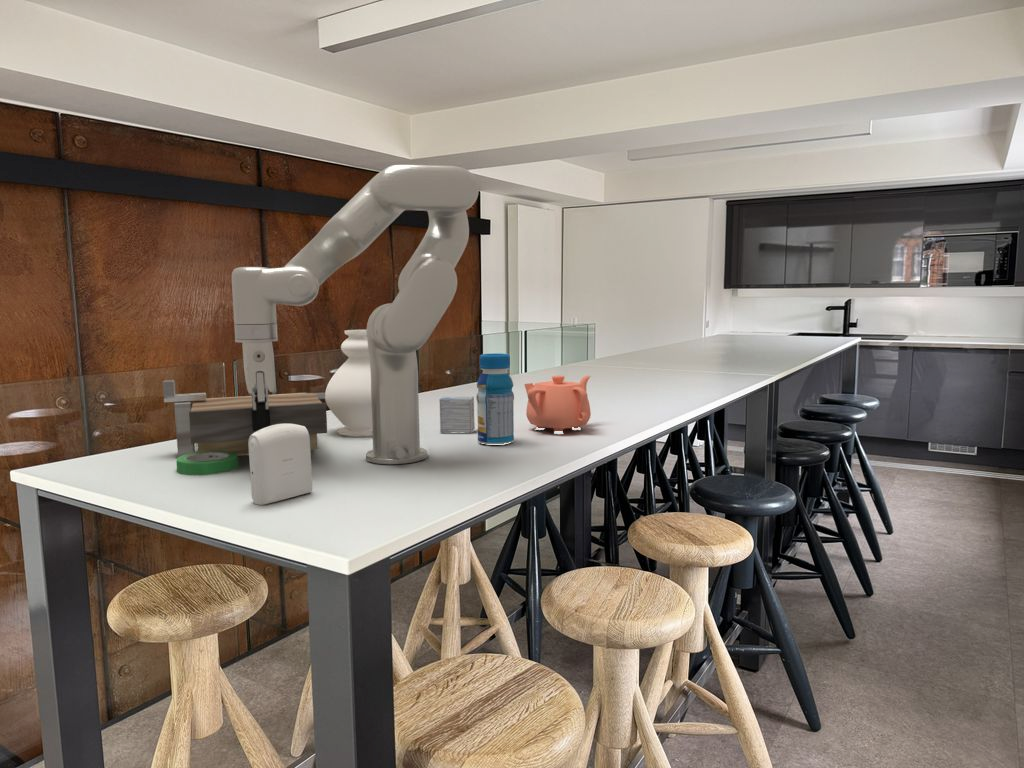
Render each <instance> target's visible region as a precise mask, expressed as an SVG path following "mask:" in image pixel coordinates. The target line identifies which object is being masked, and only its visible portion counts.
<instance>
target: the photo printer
mask: <svg viewBox="0 0 1024 768" xmlns="http://www.w3.org/2000/svg"><path fill="white" fill-rule="evenodd" d="M248 447H249V455H248V458H249V460H248V461H249V472H250V475H249V477H250V487H251V488H250V490H251V499H252V502H253V504H255V505H259V506H264V505H267V504H272V503H277V502H279V501H284V500H287V499H290V498H294V497H298V496H301V495H306V494H309V493H311V492H312V491H313V475H312V474H313V473H312V459H311V450H310V438H309V433H308V430H307V429H306V427H305V426H301V425H297V424H276V425H272V426H268V427H265V428H263V429H261V430H258V431H257V432H255V433H253V434H252V435H251V436H250V437H249V441H248Z"/></svg>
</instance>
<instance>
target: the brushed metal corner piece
mask: <svg viewBox="0 0 1024 768" xmlns="http://www.w3.org/2000/svg"><path fill="white" fill-rule="evenodd" d="M175 383H176V382H175V379H167V380H163V381H162V390H163V403H175V402H180V401H192V402H194V401H197V400H206V399H207V393H206V392H195V393H177V394H176V384H175Z"/></svg>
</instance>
